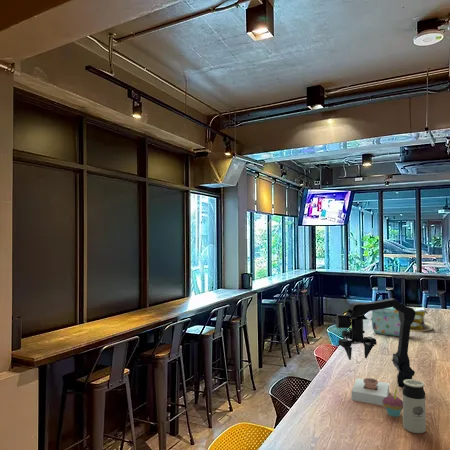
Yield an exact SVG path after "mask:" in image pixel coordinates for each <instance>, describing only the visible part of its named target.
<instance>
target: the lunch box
mask: <svg viewBox="0 0 450 450" xmlns="http://www.w3.org/2000/svg"><path fill="white" fill-rule="evenodd" d="M371 315H372V316H371V318H370V321H371V324H372V325H371V327H372V330H373V332H374V333H377V334H379V335H384V336H393V337H399V334H400V324H401V323H400V319H399V312H398V311H397V310H396V309H394V308H393V307H390V308H384V309H379V310H373V311H371Z"/></svg>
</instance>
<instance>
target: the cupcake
mask: <svg viewBox="0 0 450 450" xmlns="http://www.w3.org/2000/svg"><path fill="white" fill-rule="evenodd" d="M397 388H398V387H395V389H394V396H393V395H388V396H387V397H385V398H384V399H383V401H382V403H383V405H384V408H385V409H386V412H387V414H388V415H389V416H391V417H394V418H395V417H397V418H398V417H400V415H401V413H402V412H403V399H401V398H399V397H397V392H398V390H397ZM383 405H382V406H383Z"/></svg>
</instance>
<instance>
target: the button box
mask: <svg viewBox="0 0 450 450" xmlns="http://www.w3.org/2000/svg"><path fill="white" fill-rule="evenodd" d="M364 379H365V378H358V377H356V379H355V381H354V384H353V386H352V389H351V390H350V391H351V393H350V394H351V401H355V402H360V403H361V402H362V403H367V404H372V405H378V406H384V405H383V403H382V401H383V399H384V398H385V397H387V396H390V383H389V382H382V381H378V385H376V390H371V389H365V383H364ZM384 407H385V406H384Z"/></svg>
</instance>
